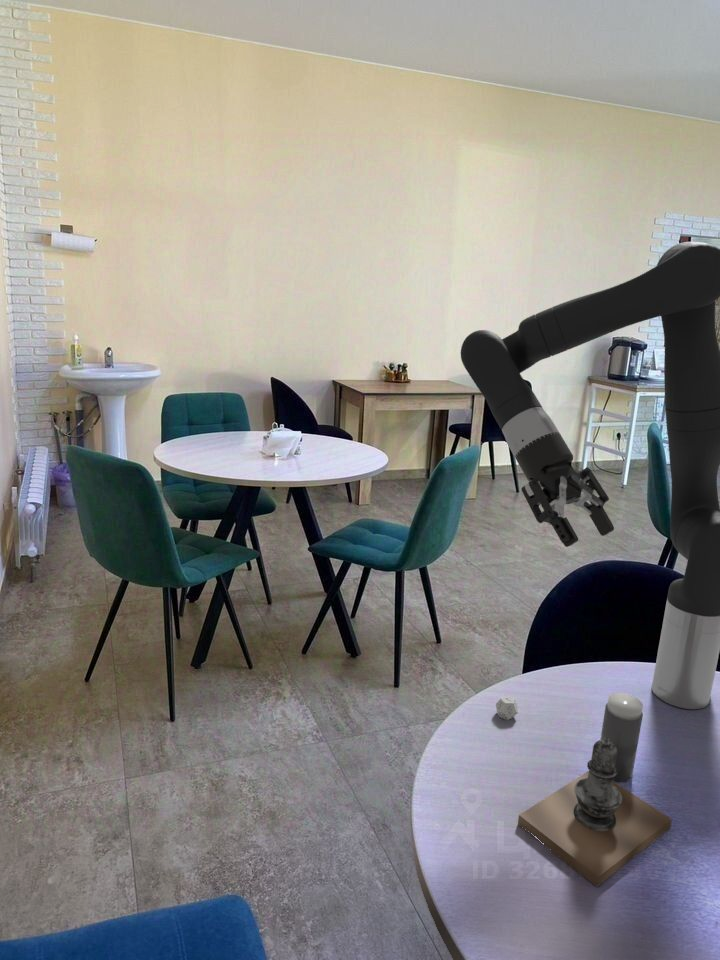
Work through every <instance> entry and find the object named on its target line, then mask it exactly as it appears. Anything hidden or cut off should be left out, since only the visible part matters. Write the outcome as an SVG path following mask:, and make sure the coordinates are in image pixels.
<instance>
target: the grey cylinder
mask: <svg viewBox="0 0 720 960" xmlns="http://www.w3.org/2000/svg"><path fill="white" fill-rule="evenodd" d="M643 707H644V705H643V702H642V701H641V700H640V699H639V698H638V697H636V696H634V695H632V694H630V693H625V692H614V693H611V694H610V695H609V696H608V699H607V703H606V704H605V709H604V714H603V719H602V720H603V721H602V726H601V727H602V728H601V731H600V732H601V733H600V739H599V740H604V738H605V737H608V738H609V740H610V741H609V742H611V743H613V744H614V745H615V747H616V749H617V756H616V762H615V767H616V769H617V774H616V776H614V778H613V781H614V782H616V783H625V782H628V781H630V780H632V778H633V773H634V767H635V763H636V756H637V750H638V745H639V739H640V735H641V728H642V721H643V718H644V717H643V716H644V714H643Z"/></svg>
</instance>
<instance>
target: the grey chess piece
mask: <svg viewBox="0 0 720 960" xmlns="http://www.w3.org/2000/svg"><path fill="white" fill-rule="evenodd" d="M609 741H610V740H609V738H608V737H605V738H604V740H600V739H599V740H597V741H596V742H594V744H593V747H592V753H591V759H590V760H588V762H587V765H586V767H587V769H588V771H589V774H588V778H583V779H580V780H579V781H578V782H577V783H576V784H575V789H574V790H575V793H576V797H577V800H578V803H577V804H576V805H575V807H574V816H575V817H576V819H577V820H578V821H579V822H580V823H581V824H582V825H584V826H585V827H587V828H589V829H592V830H595V831H608V830H610V829H612V828H613V827H614V826H615V824H616V818H615V815H614V813H615V811H616V810H617V809H618V807H619V806H620V805H621V803H622V796H621V793H620V792H619V790H618V789H617V788H616V787H615V786H614V785H613V778H614V776H616V774H617V769H616V767H615V762H616V756H617V749H616V747H615V745H614V744H613V743H611V742H609Z"/></svg>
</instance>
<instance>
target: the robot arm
mask: <svg viewBox="0 0 720 960" xmlns="http://www.w3.org/2000/svg"><path fill="white" fill-rule="evenodd" d="M719 298H720V247H717V246H715V245H713V244H711V243H708V242H703V241H685V242H680V243H677V244H675V245H673V246H671V247H670V248H669V249H667V250H666V251H665V252H664V253H663V254H662V256H661V257H660V258H659V260H658V262H657V264H656V266H655V267H652V268H651V269H648V271H646V272H643V273H642V274H640V275H638V276H636V277H633V278H631V279H628V280H626V281H624V282H621V283H619V284H616V285H614V286H611V287H609V288H605V289H602V290H600V291H599V290H598V291H596V292H593V293H590V294H585V295H582V296H579V297H576V298H573V299H570V300H567V301H565V302H562V303H559V304H557V305H554V306H551V307H549V308H547V309H544V310H542V311H540V312H537V313H535V314H532V315H530V316H528V317H525V318H524V319H522V321H521V322H520V323H519V324H518V329H517V330H516V331H515V332H512V333H511V334H510V335H507V336H505V337H503V338H501V337H500V335H498V334H497V333H495V332H494V331H491V330H487V329H478V330H476V331H473V332H471V333H470V334H469V335H467V336H466V337H465V339H464V340H463V342H462V344H461V346H460V361H461V362H462V365H463V367H464V368H465V370H466V372H467V373H468V375H469V376H470V378H471V380H472V381H473V383H474V384H475V386H476V388H477V389H478V390H479V392H480V393H481V395H482V396H483V398H484V399H485V400H486V403H487V405H488V408H489V409H490V412H491V413H492V416H493V417H494V419H495V422H496V423H497V424H498V426H499V428H500V430H501V431H502V434H503V436H504V439H505V442H506V444H507V446H508V448H509V449H510V451H511V453H512V455H513V456H514V458H515V460H516V462H517V464H518V465H519V467H520V469H521V471H522V472H523V474H524V476H525V478H526V479H527V481H528V482H527V483H526V484H525V485H523V486H522V487H521V488H520V489H521V492H522V494H523V496H524V497H525V501H526V502H527V504H528V506H529V508H530V511H531V512H532V513H533V516H534V518H535V520H536V522H538V524H542V523H547V524H548V525H550V526H552V528H553V529H554V531H555V533H556V534H557V536H558V538H559V540H560V541H561V543H562V544H563V545H564V547H567V548H568V547H572V546H574V544H576V543H577V542H579V537H578V535H577V534H576V532H575V530H574V528H573V526H572V525H571V523H570V521H569V519H568V518H567V516H565V506H566V505H571V504H572V505H574V506H575V507H577V508H579V507H581V509H584V511H586V512H587V513H588V514H589V518H590V519H591V521H592V523H593V524H594V526H595V527H596V530H597V531H598V533H599V534H600V535H601V536H606V535H608V534H610V533H612V532H613V531H614V530H615V526H614V524H613V521H611V519H610V517H609V515H608V513H607V512H606V510H605V508H604V505H605V504H606V503H607V502H608V501H609V500H610V498H609V497H610V496H608V494H607V493H606V491H605V490H604V488H603V486H602V485H601V484H600V482H599V480H598V479H597V478H596V476H595V474H594V473H593V471H592V470H591V468H590V467H585V468H584V469H582V470H581V471H577V470H576V469H575V468H573V465H572V464H573V463H572V462H573V460H574V455H573V453H572V452H571V449H570V448H569V446H568V444H567V443H566V441H565V439H564V438H563V436H562V435H561V433H560V431H559V429H558V427H557V426H556V424H555V423H554V421H553V419H552V418H551V417H550V415H549V414H548V413H547V412H546V411H545V409H544V407H543V406H542V404H541V403H540V401H539V399H538V398H537V396H536V394H535V392H534V391H533V389H532V388H531V386H530V385H528V383H527V382H526V380H525V379H524V378H523V376H522V374H521V373H523V372H524V371H526V370H528V369H530V368H531V367H533V366H534V365H535V364H537V363H539V362H540V361H542V360H546V359H549V358H551V357H553V356H557V355H559V354H561V353H564V352H567V351H568V350H571V349H573V348H577V347H578V346H581V345H583V344H586V343H588V342H591V341H594V340H596V339H598V338H601V337H603V336H605V335H608V334H610V333H612V332H616V331H618V330H621V329H624V328H627V327H629V326H632V325H635V324H639V323H641V322H645V321H648V320H651V319H654V318H659V317H660V318H661V323H662V330H663V338H664V339H663V342H664V358H663V360H664V362H663V364H664V367H663V368H664V369H663V371H664V372H663V374H664V376H663V377H664V407H665V408H664V409H665V410H664V411H665V422H666V423H665V424H666V432H667V441H668V454H669V455H668V456H669V459H668V460H669V467H670V478H671V479H670V480H671V498H670V500H671V501H670V517H669V519H670V521H669V534H670V540H671V542H672V545H673V546H674V548H675V550H676V552H678V553H679V554H680V556H682V557H684V558H685V559H686V560H687V563H686V567H685V570H684V571H685V572H684V576H683V578H678V579H675V580H673V581H672V582H671V583H670V585H669V588H668V591H667V592H668V593H667V598H666V604H665V607H664V608H665V610H664V615H663V621H662V626H661V627H662V628H661V631H660V639H659V643H658V649H657V656H656V662H655V667H654V671H653V677H652V683H651V691H652V692H653V694H654V695H655V696H656V697H657V698H659V700H661V701H663V702H665V703H667V704H669V705H671V706H674V707H677V708H681V709H685V710H700V709H703V708H706V707H707V706H708V705H709V703H710V699H711V694H712V690H713V685H714V680H715V676H716V671H717V665H718V660H719V655H720V502H719V494H718V472H719V468H720V347H719V342H718V338H717V331H716V301H717V300H718V299H719ZM594 492H596V493H597V495H598V496H597V495H596V494H594ZM587 501H589V502H587ZM540 506H541V508H542V510H543V511H542V510H541V508H540Z"/></svg>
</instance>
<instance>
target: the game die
mask: <svg viewBox="0 0 720 960" xmlns="http://www.w3.org/2000/svg"><path fill="white" fill-rule="evenodd" d="M495 707H496V713H497V715H498V716H499V717H500V718H502V719H504V720H506V721H509V720H511V719H513V718H514V717H515V716H516V715H517V714H519V706H518V703H517V702H516V700H515V698H513V697H510V696H508V695H505V696H502V697H501V698H500V699H499V700H498V701H497V702H496V703H495Z"/></svg>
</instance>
